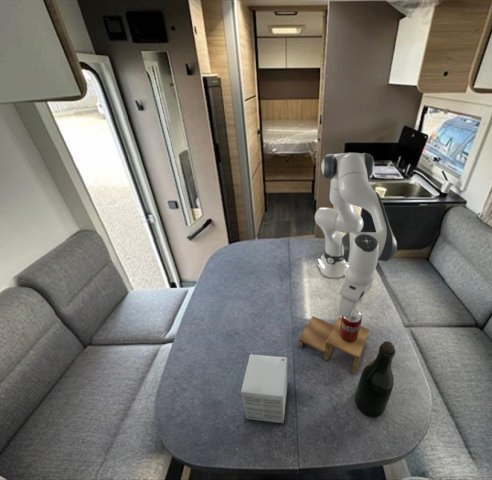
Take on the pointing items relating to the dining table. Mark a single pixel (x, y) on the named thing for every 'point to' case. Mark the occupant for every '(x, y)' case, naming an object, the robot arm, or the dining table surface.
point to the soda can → (350, 327)
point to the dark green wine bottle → (376, 383)
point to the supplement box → (265, 388)
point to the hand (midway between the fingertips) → (353, 308)
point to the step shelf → (332, 339)
